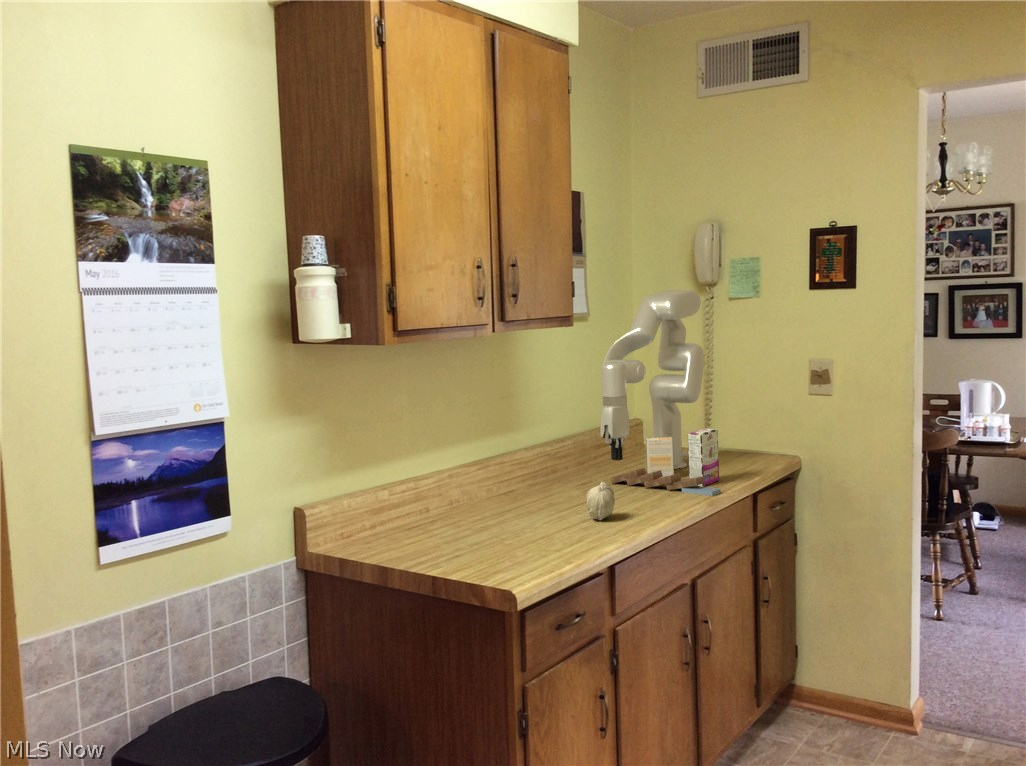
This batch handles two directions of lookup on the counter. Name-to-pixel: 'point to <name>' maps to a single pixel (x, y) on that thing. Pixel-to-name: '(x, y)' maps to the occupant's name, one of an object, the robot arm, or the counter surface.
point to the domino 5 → (701, 490)
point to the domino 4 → (685, 483)
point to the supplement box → (660, 455)
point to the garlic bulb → (600, 501)
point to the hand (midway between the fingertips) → (617, 459)
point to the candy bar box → (704, 455)
